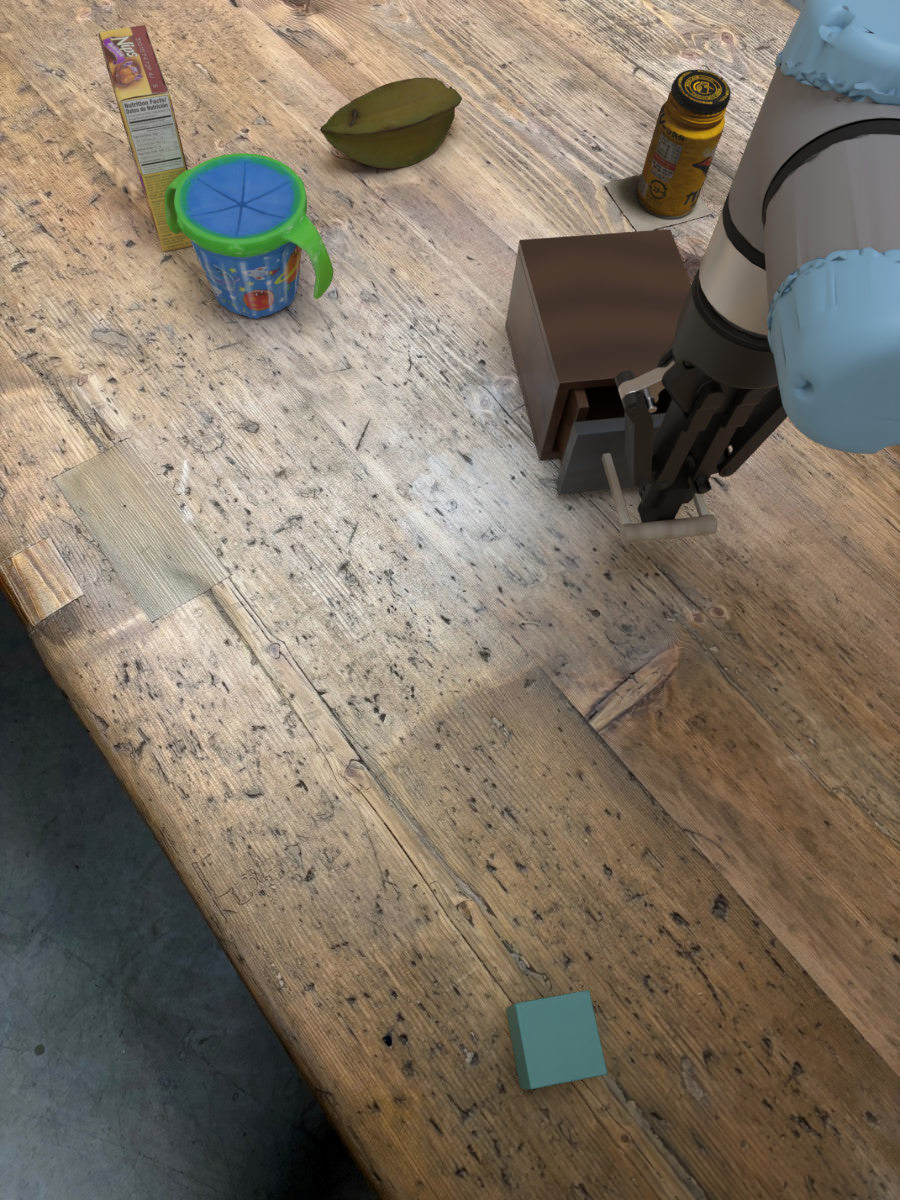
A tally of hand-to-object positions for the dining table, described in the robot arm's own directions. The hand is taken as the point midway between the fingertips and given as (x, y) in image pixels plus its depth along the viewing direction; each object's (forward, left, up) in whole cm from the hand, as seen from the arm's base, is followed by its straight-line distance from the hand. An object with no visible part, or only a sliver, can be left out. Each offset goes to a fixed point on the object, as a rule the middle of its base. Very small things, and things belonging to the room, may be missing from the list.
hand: (651, 522), depth 71 cm
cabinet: (+16, 0, -3) cm, 17 cm away
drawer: (+8, 0, -2) cm, 8 cm away
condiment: (+38, -12, -4) cm, 40 cm away
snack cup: (+30, +28, -4) cm, 41 cm away
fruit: (+48, +13, -4) cm, 50 cm away
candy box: (+40, +35, -4) cm, 53 cm away
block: (-34, +15, -3) cm, 37 cm away
